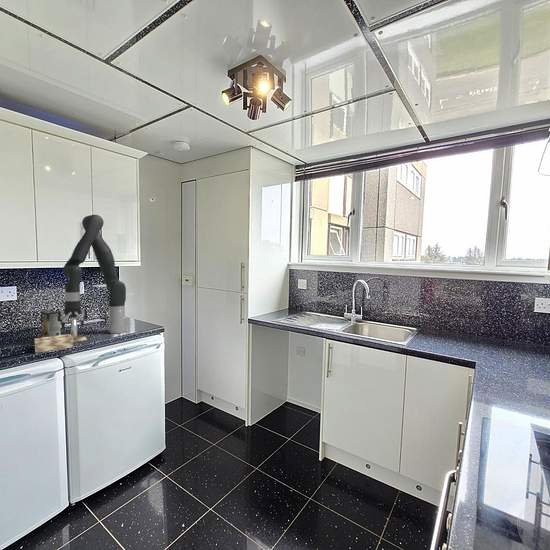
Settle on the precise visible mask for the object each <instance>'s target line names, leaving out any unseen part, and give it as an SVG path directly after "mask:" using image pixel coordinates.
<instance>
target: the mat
mask: <svg viewBox="0 0 550 550" xmlns="http://www.w3.org/2000/svg"><path fill="white" fill-rule="evenodd" d="M84 341H88V339H87V336H81V337H77V340H73V343H76V342H84Z"/></svg>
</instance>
